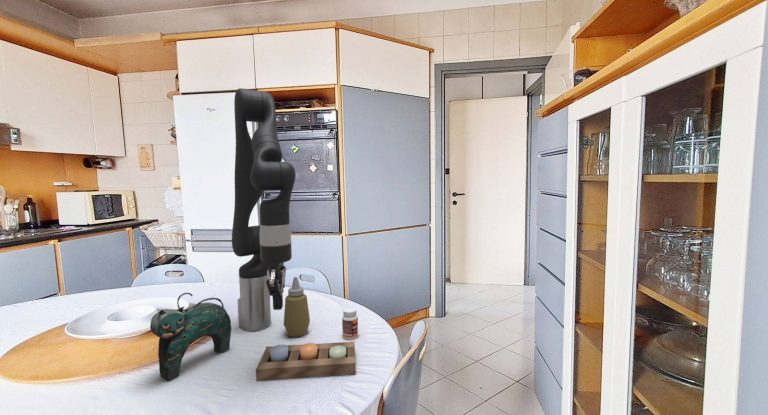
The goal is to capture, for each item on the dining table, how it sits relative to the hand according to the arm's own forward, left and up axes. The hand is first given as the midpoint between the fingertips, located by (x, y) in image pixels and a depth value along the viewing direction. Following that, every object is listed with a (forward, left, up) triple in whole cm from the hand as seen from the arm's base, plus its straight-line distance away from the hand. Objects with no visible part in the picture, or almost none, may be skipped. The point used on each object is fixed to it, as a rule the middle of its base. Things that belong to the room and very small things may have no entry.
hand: (278, 308), depth 87 cm
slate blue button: (0, 0, -14) cm, 14 cm away
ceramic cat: (-23, -4, -16) cm, 28 cm away
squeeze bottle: (-5, +18, -16) cm, 25 cm away
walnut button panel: (+7, +2, -16) cm, 17 cm away
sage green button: (+14, +5, -15) cm, 21 cm away
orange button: (+7, +3, -14) cm, 16 cm away
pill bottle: (+12, +20, -16) cm, 29 cm away
